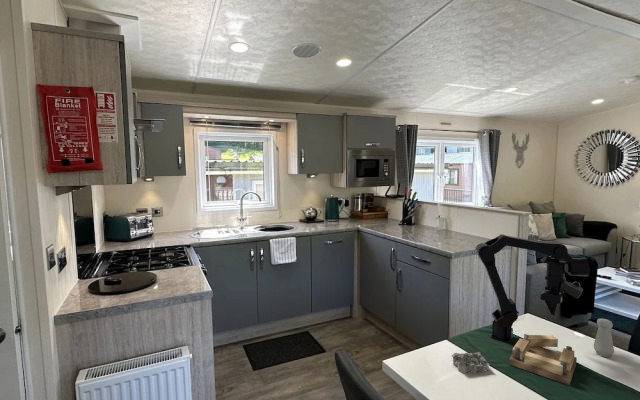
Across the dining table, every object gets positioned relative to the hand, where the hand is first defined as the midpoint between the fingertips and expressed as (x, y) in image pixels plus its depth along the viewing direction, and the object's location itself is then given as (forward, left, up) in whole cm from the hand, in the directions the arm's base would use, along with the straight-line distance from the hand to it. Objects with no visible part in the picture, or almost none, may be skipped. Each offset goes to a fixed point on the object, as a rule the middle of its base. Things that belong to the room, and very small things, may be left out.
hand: (553, 313), depth 128 cm
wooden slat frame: (0, -19, -12) cm, 23 cm away
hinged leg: (-3, -10, -10) cm, 14 cm away
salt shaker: (+15, +3, -12) cm, 19 cm away
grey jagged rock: (-18, -38, -12) cm, 44 cm away
